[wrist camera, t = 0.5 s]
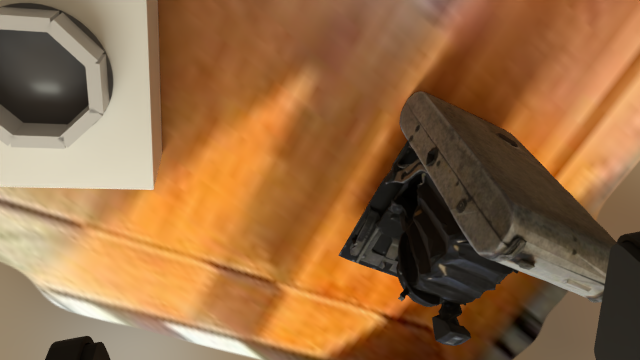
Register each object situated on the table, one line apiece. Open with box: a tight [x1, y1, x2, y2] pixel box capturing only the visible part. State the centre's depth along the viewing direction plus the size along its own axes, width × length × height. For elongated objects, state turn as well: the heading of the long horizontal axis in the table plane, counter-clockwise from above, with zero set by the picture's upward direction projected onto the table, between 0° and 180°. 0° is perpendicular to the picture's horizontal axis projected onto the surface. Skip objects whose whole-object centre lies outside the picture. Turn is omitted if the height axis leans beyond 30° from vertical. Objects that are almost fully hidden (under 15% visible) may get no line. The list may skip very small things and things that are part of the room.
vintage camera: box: [339, 91, 617, 345], centre depth 41 cm, size 10×15×20 cm, turn 152°
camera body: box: [0, 0, 162, 190], centre depth 36 cm, size 20×13×8 cm, turn 174°
